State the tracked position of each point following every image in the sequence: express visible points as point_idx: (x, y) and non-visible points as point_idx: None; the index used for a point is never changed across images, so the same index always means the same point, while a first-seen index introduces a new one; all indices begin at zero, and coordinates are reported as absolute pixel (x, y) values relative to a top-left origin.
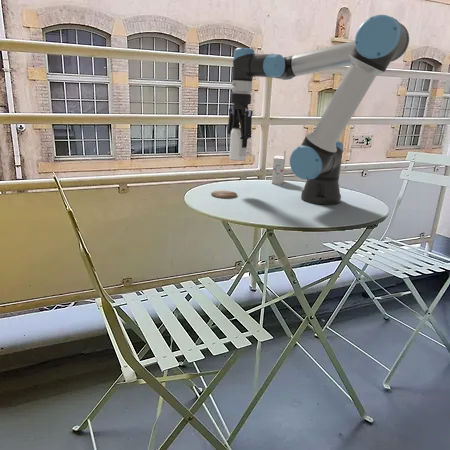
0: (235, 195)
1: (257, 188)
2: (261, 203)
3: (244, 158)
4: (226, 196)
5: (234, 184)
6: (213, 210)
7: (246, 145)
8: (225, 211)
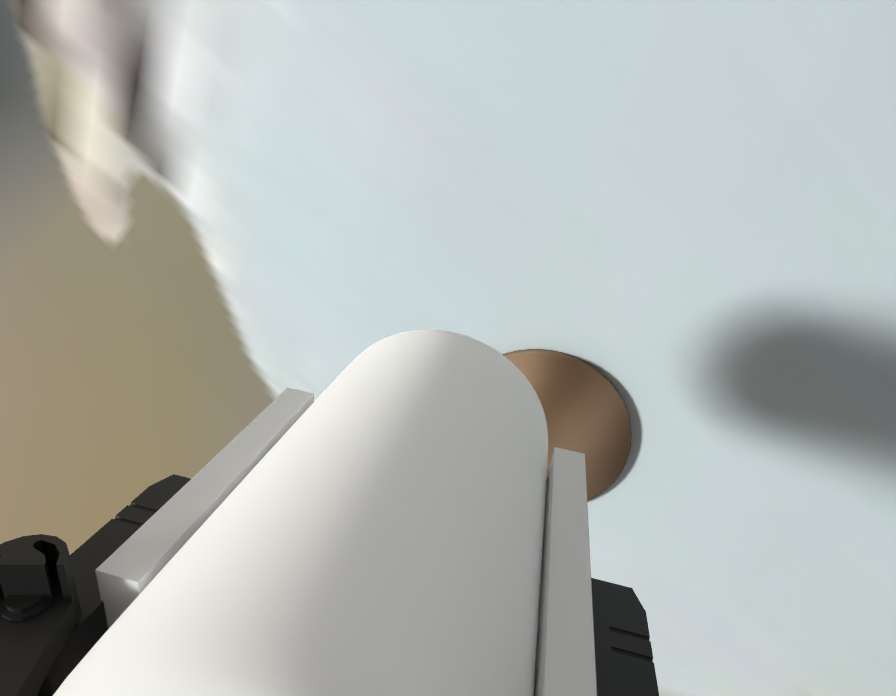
0: (621, 409)
1: (492, 23)
2: (889, 373)
3: (543, 417)
4: (607, 474)
5: (282, 129)
6: (768, 676)
7: (645, 634)
8: (833, 652)
